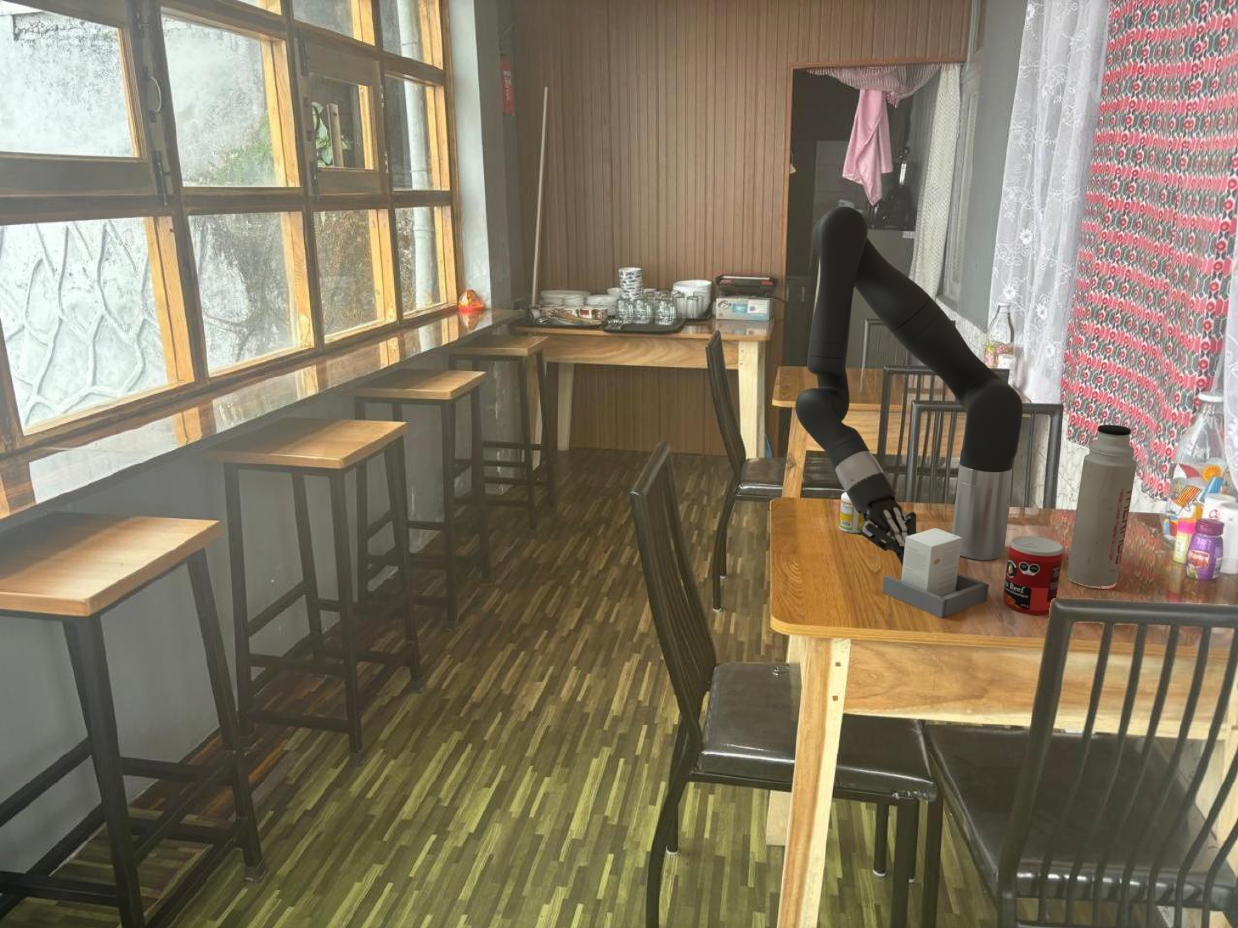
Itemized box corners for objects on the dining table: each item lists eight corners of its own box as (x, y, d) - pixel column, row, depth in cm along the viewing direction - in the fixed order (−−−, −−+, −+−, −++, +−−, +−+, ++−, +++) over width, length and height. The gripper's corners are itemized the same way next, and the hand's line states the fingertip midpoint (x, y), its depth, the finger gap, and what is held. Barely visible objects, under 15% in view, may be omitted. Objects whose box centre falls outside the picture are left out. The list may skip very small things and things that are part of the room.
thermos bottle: (1126, 584, 158) (1152, 429, 150) (1097, 593, 154) (1122, 434, 147) (1085, 568, 165) (1108, 419, 157) (1056, 576, 161) (1078, 424, 154)
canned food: (993, 597, 153) (1001, 536, 150) (1039, 595, 153) (1047, 534, 150) (1016, 616, 146) (1025, 553, 142) (1064, 614, 146) (1073, 551, 143)
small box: (929, 583, 158) (935, 526, 155) (956, 594, 154) (963, 536, 151) (898, 593, 154) (904, 535, 151) (925, 605, 150) (932, 546, 147)
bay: (927, 577, 161) (929, 561, 160) (986, 600, 151) (988, 584, 151) (882, 592, 155) (883, 576, 154) (941, 617, 145) (942, 600, 144)
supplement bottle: (863, 525, 188) (867, 480, 185) (867, 534, 182) (871, 488, 180) (837, 524, 188) (840, 479, 185) (840, 533, 183) (844, 487, 180)
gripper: (851, 477, 156) (901, 566, 149) (902, 465, 163) (952, 550, 156) (826, 498, 161) (874, 584, 155) (876, 486, 168) (924, 568, 162)
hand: (913, 567), depth 156 cm, fingers closed
